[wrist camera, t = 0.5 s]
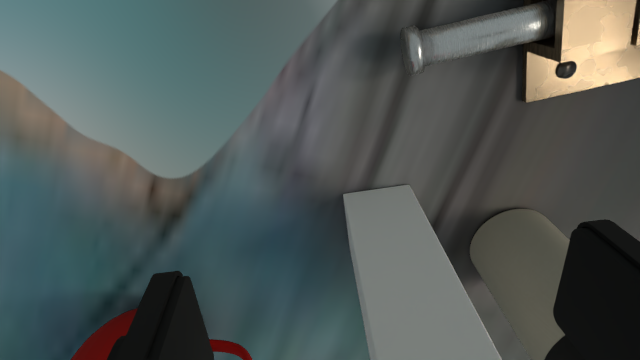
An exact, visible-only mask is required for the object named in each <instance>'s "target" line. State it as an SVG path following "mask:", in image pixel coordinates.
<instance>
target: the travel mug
mask: <svg viewBox="0 0 640 360" xmlns="http://www.w3.org/2000/svg"><path fill="white" fill-rule="evenodd" d="M569 242H570V240H569V239H568V238H567V237H566V236H565V235H564V234H563V233H561V232H560V231H559V230H558V229H557V228H556V227H555V226H554V225H553V224H552V223H551V222H550V221H549V220H548V219H547V218H546V217H545V216H544V215H542V214H541V213H539V212H537V211H534V210H530V209H514V210H509V211H505V212H503V213H500V214H498V215H496V216H494V217H492V218H491V219H489V220H488V221H487V222H485V223H484V224H483V225H482V226H481V227H480V228H479V229H478V231H477V232H476V234H475V235H474V237H473V239H472V242H471V245H470V257H471V260H472V262H473V264H474V266H475V267H476V269H477V271H478V272H479V274H480V276H481V277H482V279H483V281H484V282H485V284H486V286H487V287H488V289H489V290H490V292H491V294H492V295H493V297H494V299H495V300H496V302H497V304H498V305H499V307H500V309H501V310H502V312H503V314H504V315H505V317H506V319H507V320H508V322H509V323H510V325H511V327H512V328H513V330H514V332H515V333H516V335H517V337H518V338H519V340H520V342H521V343H522V345H523V347H524V348H525V350H526V351H527V353H528V355H529V356H530V358H531V360H585V359H584V358H583V357H582V355H581V354H580V353H579V352H578V350H577V349H576V348H575V346H574V345H573V344H572V343H571V341H570V340H569V339H568V338H567V336H566V335H565V334H564V332H563V331H562V330H561V329H560V327H559V326H558V325H557V323H556V321H555V319H554V316H553V307H554V303H555V299H556V295H557V291H558V287H559V283H560V279H561V275H562V271H563V266H564V262H565V258H566V254H567V250H568V246H569Z"/></svg>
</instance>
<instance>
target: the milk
mask: <svg viewBox="0 0 640 360" xmlns="http://www.w3.org/2000/svg"><path fill="white" fill-rule="evenodd" d="M343 199H344V207H345V215H346V223H347V231H348V239H349V247H350V252H351V258H352V263H353V269H354V274H355V279H356V285H357V290H358V295H359V301H360V306H361V311H362V317H363V322H364V328H365V333H366V338H367V344H368V349H369V354H370V360H502V359H501V357H500V355H499V353H498V351H497V350H496V348H495V346H494V344H493V342H492V340H491V338H490V336H489V334H488V332H487V331H486V329H485V327H484V325H483V323H482V321H481V319H480V317H479V315H478V314H477V312H476V310H475V308H474V306H473V304H472V302H471V300H470V298H469V297H468V295H467V293H466V291H465V289H464V287H463V285H462V283H461V281H460V280H459V278H458V276H457V274H456V272H455V270H454V268H453V266H452V264H451V262H450V261H449V259H448V257H447V255H446V253H445V251H444V249H443V247H442V245H441V244H440V242H439V240H438V238H437V236H436V234H435V232H434V230H433V228H432V227H431V225H430V223H429V221H428V219H427V217H426V215H425V213H424V211H423V209H422V208H421V206H420V204H419V202H418V200H417V198H416V196H415V194H414V192H413V191H412V189H411V187H410V185H402V186H395V187H388V188H381V189H374V190H367V191H360V192H353V193H346V194H343Z"/></svg>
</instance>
